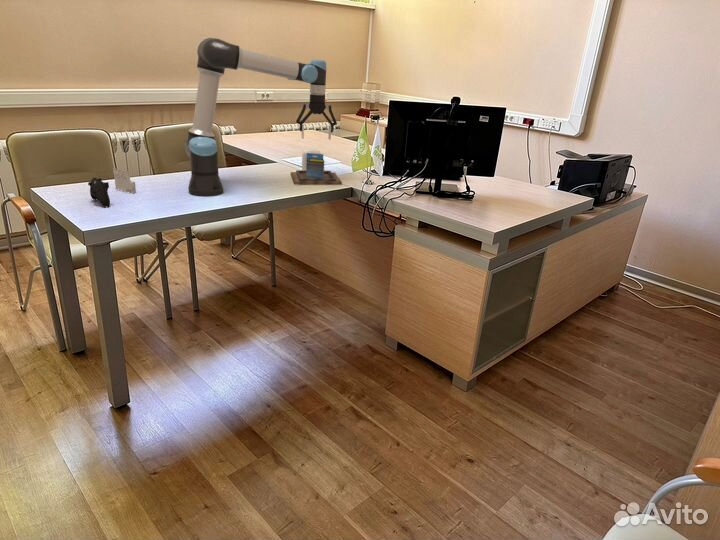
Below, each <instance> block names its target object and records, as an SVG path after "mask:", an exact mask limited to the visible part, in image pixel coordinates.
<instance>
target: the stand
mask: <svg viewBox="0 0 720 540" xmlns="http://www.w3.org/2000/svg"><path fill="white" fill-rule="evenodd" d="M290 177H291V180H292V183H293V185H294V184H298V185H297V186H299V185H303V186H304V185H305V186H307V185H309V186H310V185H311V186H314V185H315V186H320V185H321V186H342V185H343V182H342V180H341V179H340V178H339V176H338V174H337V173H336V172H332V170H324V177H323V178H316V177H306V171H303V170H302V169H301V170H300V169H299V170H296V171H290Z"/></svg>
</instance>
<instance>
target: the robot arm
mask: <svg viewBox="0 0 720 540" xmlns="http://www.w3.org/2000/svg"><path fill="white" fill-rule="evenodd" d="M196 52H197V62H196V68H197V70H198V72H199V77H198V85H197V90H196V91H197V92H196V99H195V105H194V115H193V122H192V127H190V128H189V129H188V131H187V139H186V141H185V142H184V150H185V154H186V156H187V157H188V158H189V160H190V172H191V173H190V174H191V176H190V179H189V183H188V194H190V195H193V196H199V197H213V195H214V196H218V195H221V194H223V193H224V185H223V183H222V180H221V177H220V175H219V162H218V161H219V160H218V159H219V158H218V143H217V141H216V140H215V137H216V135H215V134H214V133H213V127H214V121H215V112H216V106H217V101H218V100H217V99H218V91H219V86H220V79H221V77H223V76H224V75H225V70H226V69H229V70H235V71H238V69H242V70H247V71H252V72H256V73H260V74H261V73H262V74H266V75H271V76H275V77H280V78H284V79H287V80H289V81H299V82H303V83H307V84H309V93H310V94H309V104H306V103H303V104H302V109H301V111H300V112H299V115H298V116H297V118H296V120H295V121H296V124H298V125H299V131H300V132H301V139H304V136H305V134H304V133H305V124H304V123H305V122H306V121H307V119H308V118H309V117H310V116H312V114H313V115H323V117H324V118H325V120H326V121H327V122H328V124H329V125H328V140H329V141H331V139H332V138H331V137H332V133H333V132H334V126H338V122H337V120H336V118H335V115H334V113H333V110H332V105H331V104H328V105H326V95H325V94H326V88H327V87H326V84H327V83H326V80H327V62H326V61H325V60H322V59H310V63H303V62H298V61H295V60H290V59H286V58H285V59H284V58H281V57H276V56H273V55H268V54H264V53H259V52H255V51H251V50H246V49H242V48H241V46H240V45H237V44H233V43H230V42H228V41H224V40H222V39H220V38H214V37H207V38H205V39H203V40H202V41H201V42H200V43H199V44H198V46H197V51H196ZM308 108H309V111H308V112H307V114H305V116H304V117H303V115H304V113H305V112H306V109H307V110H308ZM325 110H327V111H328V113H329V115H330V117H331V119H330V118H329V117H328V115H327V114H326V112H325Z"/></svg>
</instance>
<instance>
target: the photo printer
mask: <svg viewBox="0 0 720 540" xmlns="http://www.w3.org/2000/svg"><path fill="white" fill-rule="evenodd" d="M307 153H313V154H322V152H321V150H318V149H314V148H313V149H312V148H310V149H308V148H307V149H304V150H303V151H302V156H301V170H303V171H306V158H307ZM312 157H318V156H315V155H314V156H312Z"/></svg>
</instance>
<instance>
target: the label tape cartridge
mask: <svg viewBox="0 0 720 540" xmlns="http://www.w3.org/2000/svg"><path fill="white" fill-rule="evenodd" d="M314 155H315V156H318V157H312V156H314ZM324 171H325V158H324V154H323V153H321V154H313V153H307V158H306V177H316V178H323V177H324Z"/></svg>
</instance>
